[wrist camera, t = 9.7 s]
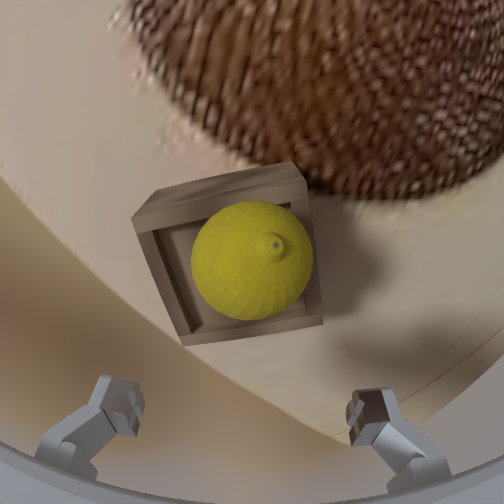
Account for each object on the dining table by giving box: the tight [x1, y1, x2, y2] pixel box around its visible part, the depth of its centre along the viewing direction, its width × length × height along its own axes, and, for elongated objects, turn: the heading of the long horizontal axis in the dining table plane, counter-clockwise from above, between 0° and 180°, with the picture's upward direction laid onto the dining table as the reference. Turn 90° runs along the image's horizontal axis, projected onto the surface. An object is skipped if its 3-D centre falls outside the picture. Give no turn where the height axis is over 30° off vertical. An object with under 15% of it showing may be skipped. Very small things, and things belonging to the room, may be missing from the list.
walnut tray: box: [131, 161, 323, 346], centre depth 22 cm, size 10×10×6 cm
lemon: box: [191, 200, 313, 320], centre depth 15 cm, size 6×6×8 cm
